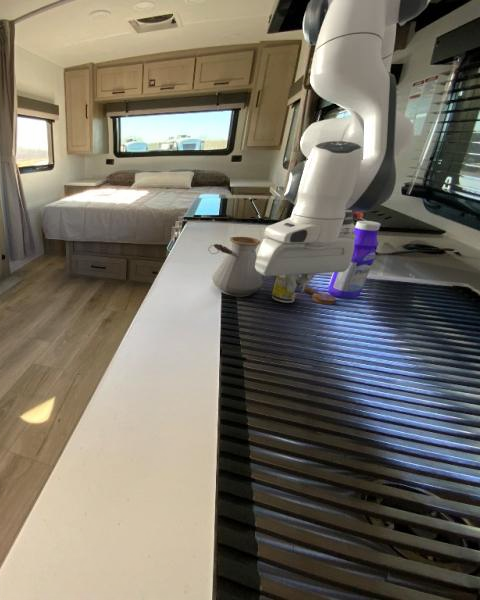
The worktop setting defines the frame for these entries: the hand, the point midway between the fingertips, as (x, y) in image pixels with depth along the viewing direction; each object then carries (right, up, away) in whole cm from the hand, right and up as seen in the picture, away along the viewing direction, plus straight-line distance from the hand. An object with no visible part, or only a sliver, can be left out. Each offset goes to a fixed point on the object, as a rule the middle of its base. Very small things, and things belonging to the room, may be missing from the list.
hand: (294, 291), depth 73 cm
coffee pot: (-13, -1, +6) cm, 14 cm away
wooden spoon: (+8, +1, +9) cm, 12 cm away
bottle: (+16, -1, +6) cm, 17 cm away
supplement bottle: (0, -2, +4) cm, 5 cm away
